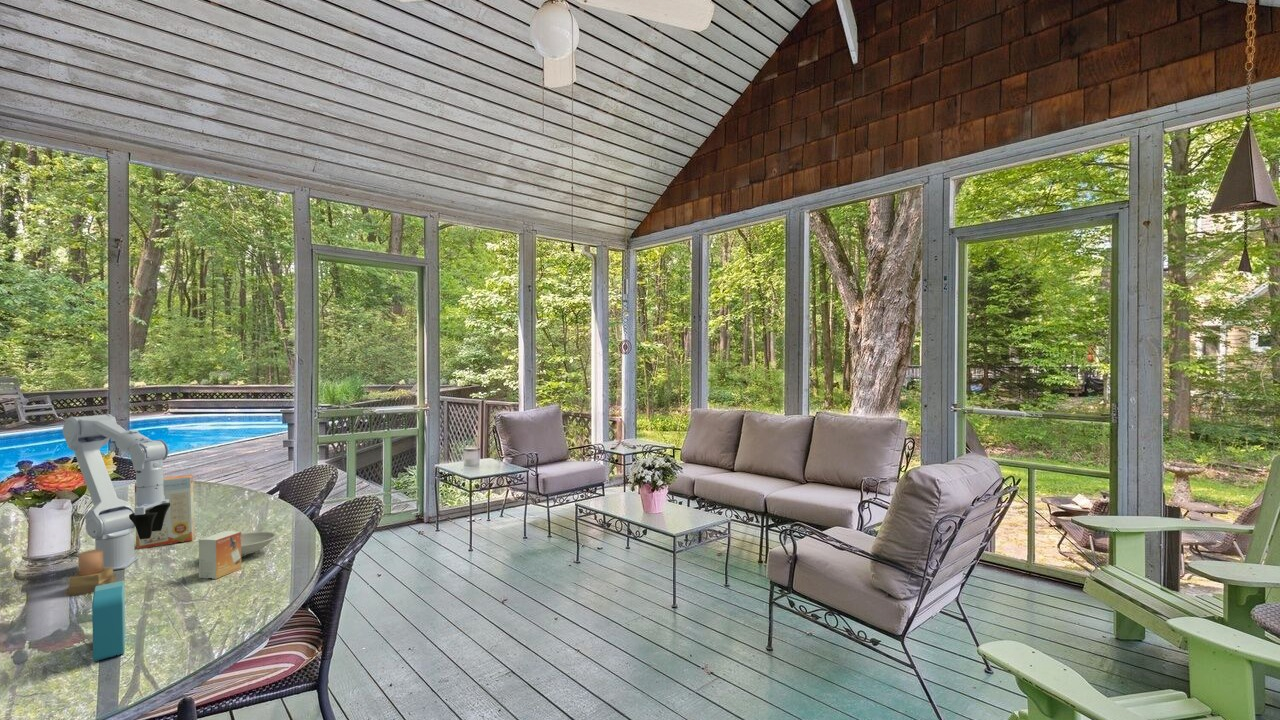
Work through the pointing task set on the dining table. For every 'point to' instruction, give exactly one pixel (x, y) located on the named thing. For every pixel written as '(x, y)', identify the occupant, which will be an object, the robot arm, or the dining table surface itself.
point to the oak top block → (91, 578)
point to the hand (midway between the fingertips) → (150, 534)
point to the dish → (255, 541)
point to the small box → (219, 554)
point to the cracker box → (174, 513)
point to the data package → (108, 620)
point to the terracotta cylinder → (90, 562)
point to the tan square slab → (87, 588)
